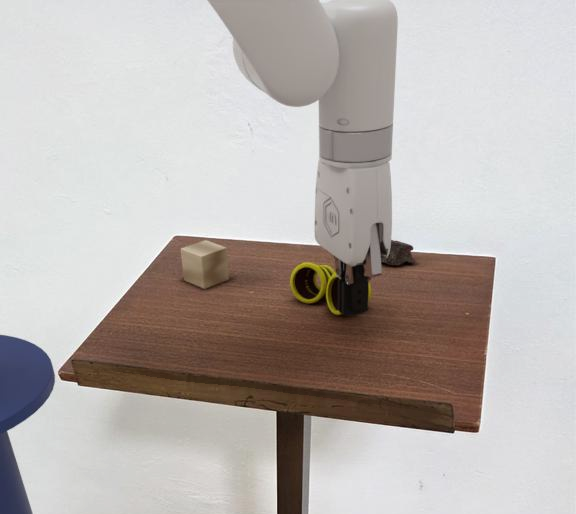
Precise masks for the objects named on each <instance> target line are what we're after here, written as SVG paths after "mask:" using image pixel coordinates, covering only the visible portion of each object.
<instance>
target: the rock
mask: <svg viewBox="0 0 576 514" xmlns="http://www.w3.org/2000/svg"><path fill="white" fill-rule="evenodd" d="M411 251H414V246H413V245H412V244H409V243H405V242H402V241H399V240H394V239H391V247H390V253H389V255H388V257H387V258H386V259H384V260H382V259H381V263H383V264H387V265H390V266H400V265H403V264H404V263H408V264H414V263H415V261H416V260H415V258H414V257H413V254H412V252H411Z"/></svg>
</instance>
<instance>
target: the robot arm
mask: <svg viewBox="0 0 576 514" xmlns="http://www.w3.org/2000/svg"><path fill="white" fill-rule="evenodd" d="M207 2H208V4H209V5H210V6H211V7H212V8H213V10H214V11H215V13H216V14H217V16H218V17H219V18H220V20H221V21H222V23H223V24H224V26H225V27H226V29H227V30H228V32H229V33H230V35H231V36H232V52H233V57H234V61H235V63H236V66H237V67H238V69H239V71H240V73H241V74H242V75H243V77H244V78H245V79H246V80H247V81H248V82H249V83H251V85H253V86H254V87H256V89H258V90H260V91H262V92H263V93H265V94H266V95H268V97H270V98H271V99H273V100H274V101H275V102H276V103H279V104H281V105H283V106H287V107H290V108H302V107H306V106H311V105H312V104H314V103H316V102H317V101H318V163H317V168H316V169H317V170H316V179H315V191H314V193H315V194H314V239H315V241H316V243H317V244H318V245H319V246H320V247H321V248H323V250H325V251H327V253H329V254H331V255H332V256H333V258H334V267H335V273H336V275H337V277H338V278H341V279H338V311H339V312H340V313H342V314H341V315H343V316H344V317H350V316H354V315H358V314H359V315H360V314H363V313H366V312H368V309H369V302H368V287H369V283H370V281H371V280H372V278H375V277H379V276H381V275H382V274H383V268H382V267H383V266H382V262H381V259H382V260H384V259H386V258H387V257H388V255H389V253H390V247H391V240H392V233H393V195H392V194H393V193H392V191H393V190H392V189H393V188H392V176H391V164H390V161H391V160H392V157H393V136H394V135H393V131H394V113H395V112H394V109H395V91H396V67H397V50H398V49H397V48H398V45H397V44H398V27H399V25H398V23H399V21H398V20H399V18H398V10H397V8H396V6H395V4H394V3H393V2H392V1H391V0H329V1H327V2H321V1H320V0H207Z"/></svg>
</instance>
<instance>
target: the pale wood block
mask: <svg viewBox="0 0 576 514" xmlns="http://www.w3.org/2000/svg"><path fill="white" fill-rule="evenodd" d="M180 257H181V266H182V275H183V281H184V282H187V283H189V284H191V285H193V286H196V287H199V288H201V289H203V290H207V289H208V288H211V287H214V286H215V285H219V284H222V283H223V282H226V281H229V280H230V275H229V259H228V248H227V246H223V245H221V244H218V243H215V242H212V241H209V240H207V239H205V240H202V241H199V242H196V243H193V244H190V245H187V246H185V247H181V248H180Z"/></svg>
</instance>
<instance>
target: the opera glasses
mask: <svg viewBox="0 0 576 514" xmlns="http://www.w3.org/2000/svg"><path fill="white" fill-rule="evenodd" d="M317 275H318V277H319V279H320V286H319V284H318V283H317ZM338 279H341V278H338V277H337V275H336V271H335V269H333V268H332V267H331V266H330V265H328V264H322V265H321V264H316V263H314V262H309V261H308V262H307V261H305V262H302V263H300V264H298V265H296V267H294V269H293V270H292V272H291V274H290V278H289V286H290V290H291V293H292V294H293V295H294V297H295V298H296V299H297V300H299V301H300V302H302V303H303V304H304V303H305V304H314V303H317V302H319V301H320V300H322V298H323V297H324V296H325V300H326V303H327V307H328V308H329V311H330V312H331V313H332V314H333V315H336V316H341V315H343V314H342V313H340V312H339V311H338ZM371 298H372V286H371V284H370V282H369V287H368V303H370V301H371Z"/></svg>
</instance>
